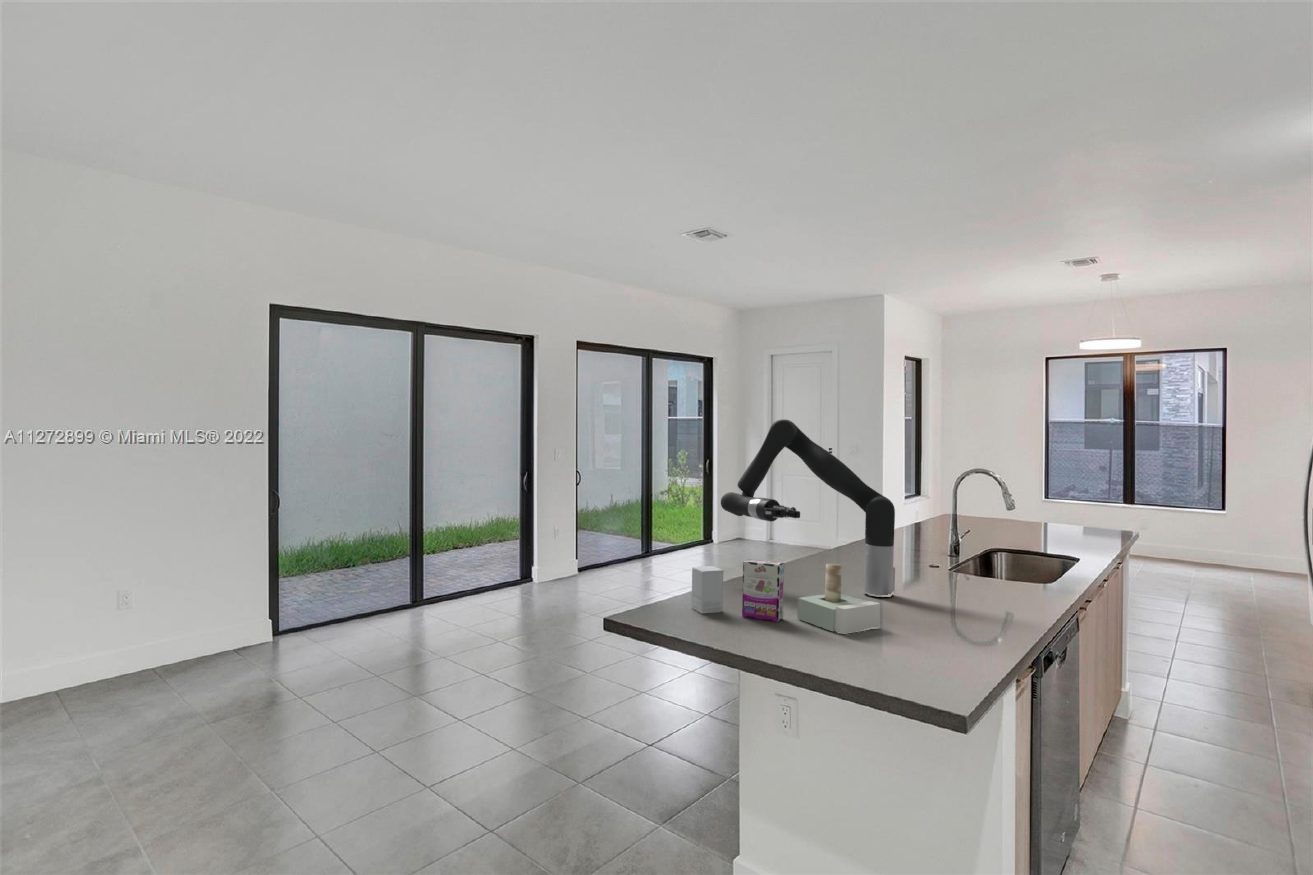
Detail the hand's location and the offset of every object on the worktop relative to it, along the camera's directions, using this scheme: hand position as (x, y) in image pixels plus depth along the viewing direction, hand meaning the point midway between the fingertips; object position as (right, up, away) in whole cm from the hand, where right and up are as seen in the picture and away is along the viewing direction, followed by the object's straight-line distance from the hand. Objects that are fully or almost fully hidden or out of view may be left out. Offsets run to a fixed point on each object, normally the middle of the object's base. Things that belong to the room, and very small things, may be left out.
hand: (798, 514), depth 216 cm
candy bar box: (-15, -28, -20) cm, 37 cm away
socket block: (+6, -28, -23) cm, 37 cm away
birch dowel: (+5, -26, -22) cm, 34 cm away
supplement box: (-30, -28, -12) cm, 43 cm away
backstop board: (+10, -28, -30) cm, 43 cm away
